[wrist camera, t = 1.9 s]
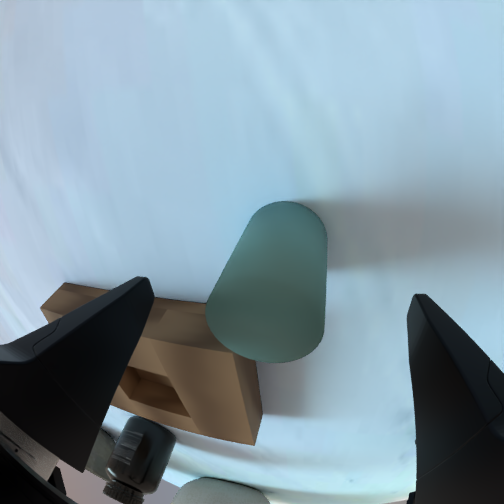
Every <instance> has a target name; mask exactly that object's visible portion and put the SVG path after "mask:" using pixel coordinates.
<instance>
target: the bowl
mask: <svg viewBox="0 0 504 504" xmlns="http://www.w3.org/2000/svg"><path fill="white" fill-rule="evenodd" d="M115 445H116V443H115V442H114V440H113V439H112V438H111V437H110V436H109V435H108V434H107V433H106V432H105V431H103V430H102V429H100V431H99V433H98V436H97V438H96V441H95V444H94V446H93V449H92V451H91V454H90V457H89V459H88V462H87V465H86V468H85V469H86V470H88V471H90V472H91V473H93V474H95V475H96V476H98V477H100V478H102V479H103V480H105V481H108V482H109V481H110V477H109V476H108V475H107V473H106V470H105V466H106V464H107V461H108V459H109V457H110V455H111V453H112V451H113V449H114V447H115Z"/></svg>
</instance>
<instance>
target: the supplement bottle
mask: <svg viewBox="0 0 504 504" xmlns="http://www.w3.org/2000/svg"><path fill="white" fill-rule="evenodd" d="M175 443H176V438H175V436H174V435H173V434H172V433H171V432H170V431H168V430H167V429H165V428H164V427H162V426H160V425H158V424H156V423H154V422H152V421H149V420H147V419H144V418H141V417H130V418H129V419H128V421H127V423H126V425H125V427H124V429H123V431H122V433H121V435H120V437H119V439H118V441H117V443H116V445H115V447H114V449H113V451H112V453H111V455H110V457H109V459H108V461H107V464H106V466H105V470H106V473H107V475H108V476H109V477H110V481H109V483H108V482H106V486H105V488H104V490H103V493H104V494H106V495H107V496H109V497H111V498H113V499H115V500H117V501H119V502H121V503H123V504H142V503H143V502H144V499H143V496H144V495H145V494H152V493H154V492H155V491H156V490H157V488H158V486H159V483H160V481H161V479H162V476H163V474H164V471H165V469H166V466H167V464H168V461H169V459H170V456H171V454H172V451H173V448H174V446H175Z"/></svg>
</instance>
